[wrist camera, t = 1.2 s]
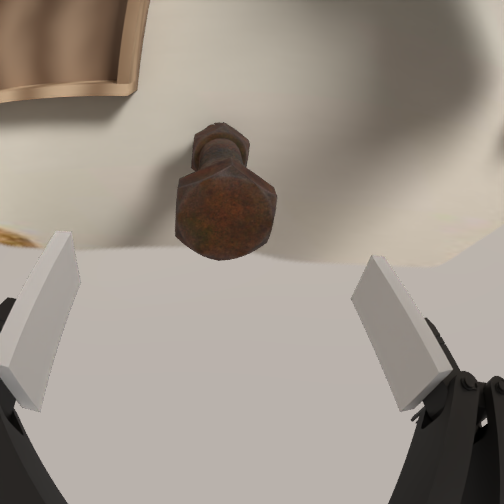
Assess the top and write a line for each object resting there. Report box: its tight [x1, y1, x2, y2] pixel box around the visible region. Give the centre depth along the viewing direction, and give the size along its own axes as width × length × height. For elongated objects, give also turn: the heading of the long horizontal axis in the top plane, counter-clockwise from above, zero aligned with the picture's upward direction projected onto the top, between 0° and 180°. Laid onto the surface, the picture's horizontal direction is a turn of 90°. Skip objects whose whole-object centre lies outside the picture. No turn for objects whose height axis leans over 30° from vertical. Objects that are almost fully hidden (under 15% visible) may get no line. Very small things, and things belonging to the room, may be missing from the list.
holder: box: [0, 0, 150, 103], centre depth 16 cm, size 18×18×4 cm
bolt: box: [175, 122, 277, 261], centre depth 22 cm, size 6×5×15 cm
